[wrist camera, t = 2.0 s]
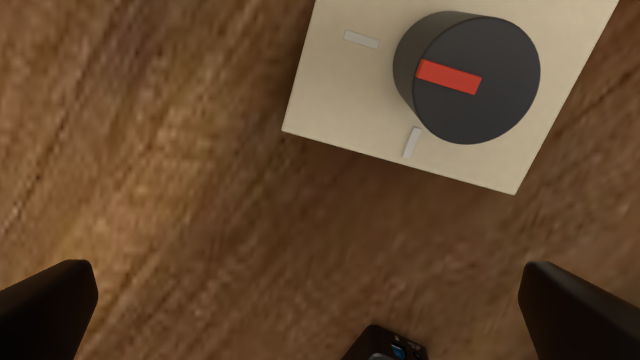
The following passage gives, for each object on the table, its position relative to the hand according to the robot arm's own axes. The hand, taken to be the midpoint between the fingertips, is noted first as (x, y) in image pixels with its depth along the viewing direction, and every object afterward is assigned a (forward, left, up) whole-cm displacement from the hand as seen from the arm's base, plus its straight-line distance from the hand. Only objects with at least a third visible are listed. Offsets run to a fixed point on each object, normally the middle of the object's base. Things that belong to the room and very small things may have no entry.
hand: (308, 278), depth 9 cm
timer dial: (-3, -5, -10) cm, 12 cm away
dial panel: (-3, -5, -13) cm, 14 cm away
